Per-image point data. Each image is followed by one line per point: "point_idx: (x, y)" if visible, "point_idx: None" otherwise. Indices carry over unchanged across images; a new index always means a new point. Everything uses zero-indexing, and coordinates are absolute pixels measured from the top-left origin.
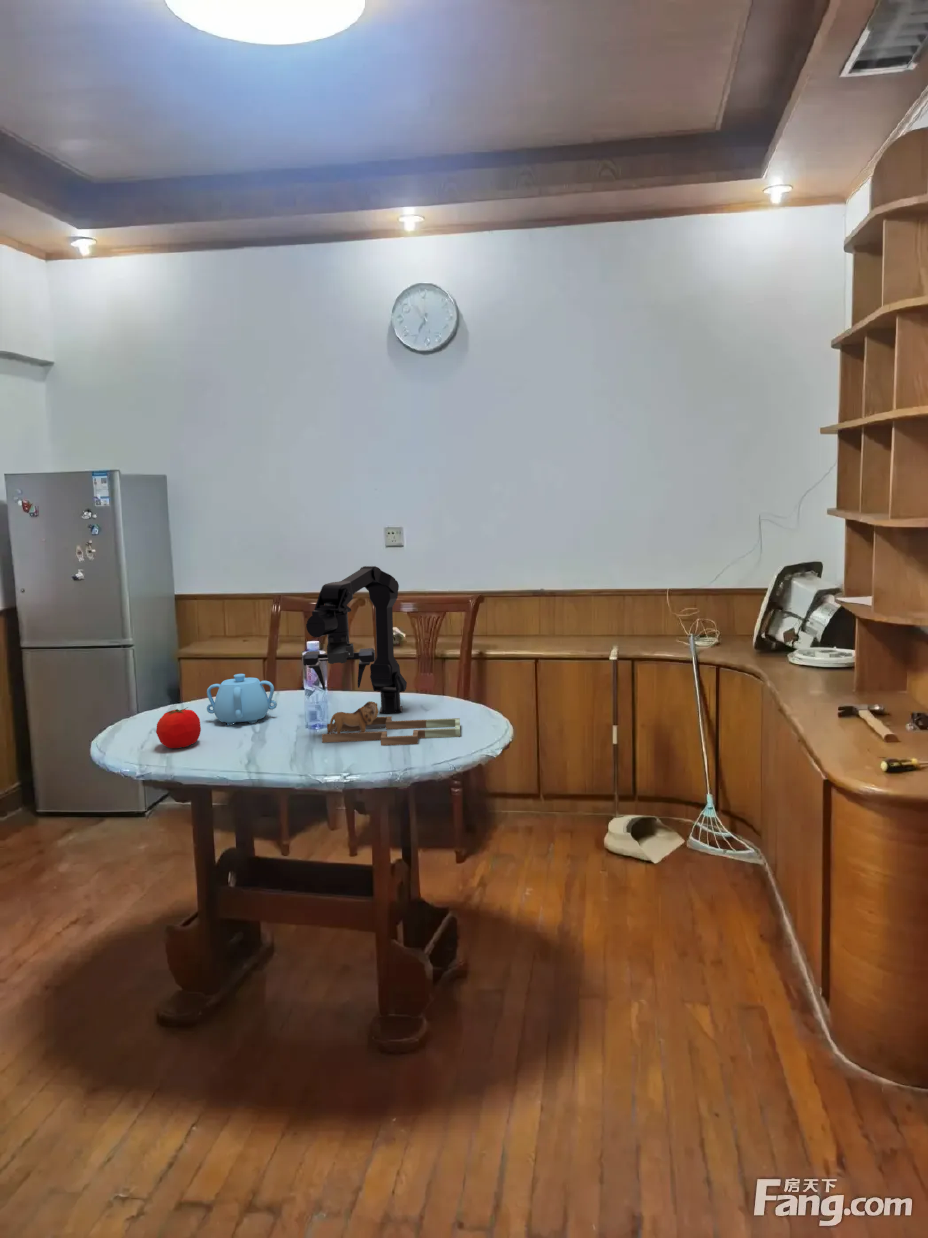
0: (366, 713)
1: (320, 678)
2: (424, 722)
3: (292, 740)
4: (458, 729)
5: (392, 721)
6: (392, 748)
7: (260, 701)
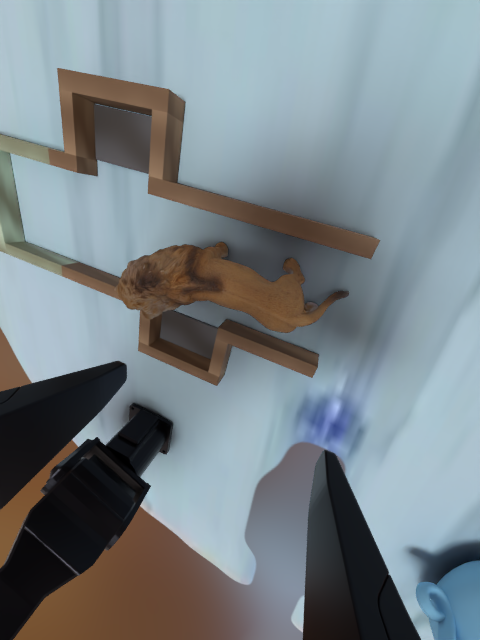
0: (171, 253)
1: (371, 562)
2: (68, 266)
3: (474, 323)
4: None
5: None
6: (151, 43)
7: None
